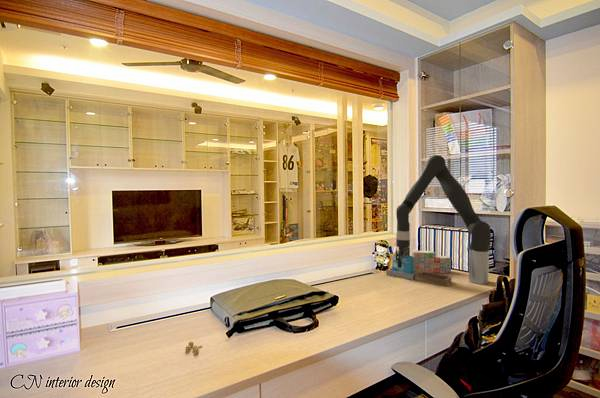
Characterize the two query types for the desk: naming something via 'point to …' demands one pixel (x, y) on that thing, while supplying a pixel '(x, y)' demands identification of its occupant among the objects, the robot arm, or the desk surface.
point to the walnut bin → (433, 278)
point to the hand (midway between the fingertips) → (402, 266)
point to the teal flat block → (403, 264)
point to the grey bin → (402, 274)
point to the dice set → (195, 348)
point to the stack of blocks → (431, 262)
